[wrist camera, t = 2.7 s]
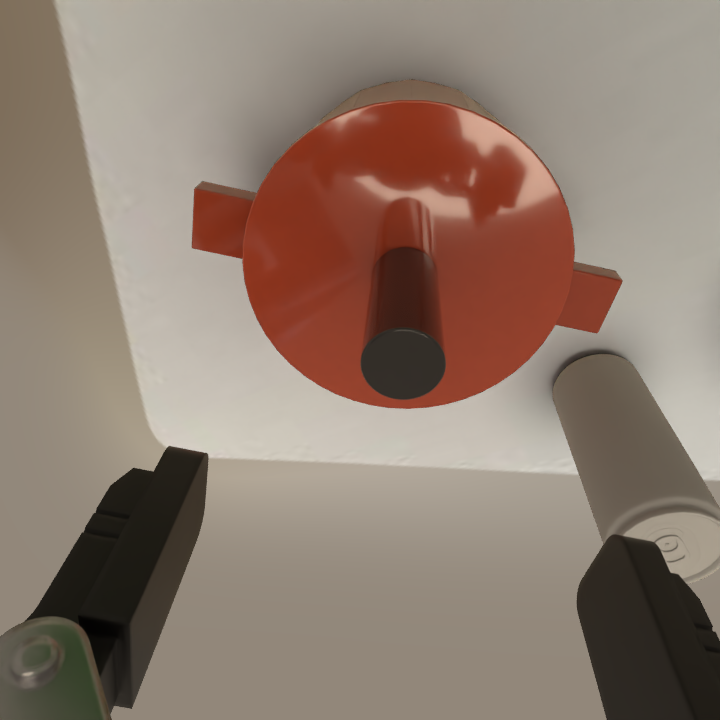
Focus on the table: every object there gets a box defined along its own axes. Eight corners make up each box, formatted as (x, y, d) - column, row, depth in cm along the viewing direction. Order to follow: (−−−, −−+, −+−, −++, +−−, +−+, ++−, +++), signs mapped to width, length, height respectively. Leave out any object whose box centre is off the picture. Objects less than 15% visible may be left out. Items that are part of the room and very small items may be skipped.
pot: (253, 41, 26) (192, 61, 19) (612, 122, 26) (687, 172, 19) (233, 268, 32) (181, 350, 24) (527, 330, 32) (561, 427, 25)
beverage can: (618, 334, 32) (715, 492, 22) (650, 396, 34) (751, 567, 24) (536, 372, 34) (590, 536, 24) (570, 429, 36) (634, 602, 26)
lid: (266, 57, 19) (200, 88, 13) (623, 138, 19) (719, 204, 13) (236, 363, 25) (182, 478, 19) (506, 417, 26) (535, 546, 20)
